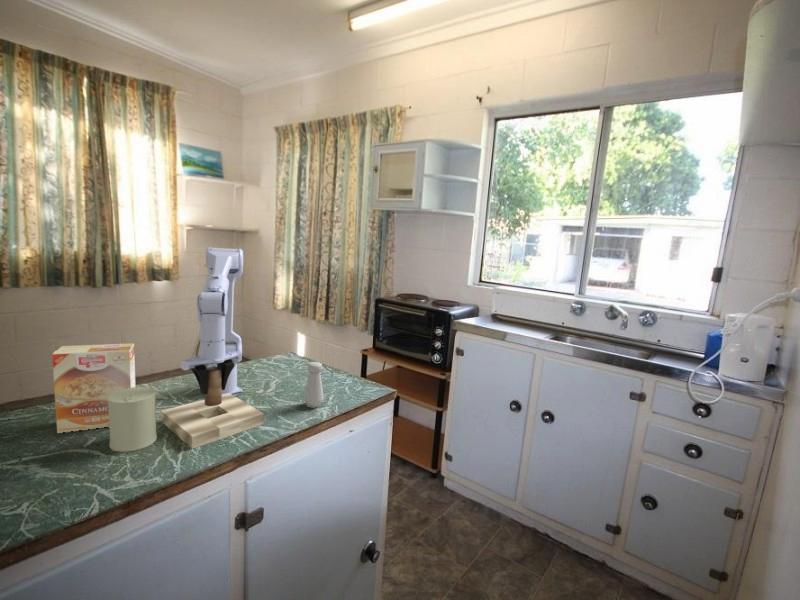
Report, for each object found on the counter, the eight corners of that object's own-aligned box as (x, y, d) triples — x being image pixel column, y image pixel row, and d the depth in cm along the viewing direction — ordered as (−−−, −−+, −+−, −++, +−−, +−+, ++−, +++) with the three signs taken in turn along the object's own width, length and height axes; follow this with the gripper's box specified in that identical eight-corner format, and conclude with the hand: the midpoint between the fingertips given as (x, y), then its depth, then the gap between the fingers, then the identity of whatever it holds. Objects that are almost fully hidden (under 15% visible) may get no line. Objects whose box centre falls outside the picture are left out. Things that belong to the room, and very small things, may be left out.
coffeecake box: (56, 434, 94) (50, 353, 91) (65, 420, 100) (61, 345, 97) (132, 425, 100) (129, 349, 97) (137, 413, 107) (134, 342, 104)
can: (105, 455, 87) (103, 402, 85) (112, 435, 95) (110, 387, 93) (155, 447, 91) (154, 397, 89) (158, 429, 99) (157, 382, 97)
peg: (201, 402, 103) (201, 368, 102) (217, 398, 106) (217, 365, 105) (208, 407, 100) (208, 373, 99) (224, 403, 103) (224, 369, 102)
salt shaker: (318, 410, 116) (320, 367, 114) (300, 407, 117) (301, 364, 115) (326, 402, 121) (328, 361, 119) (308, 400, 122) (310, 359, 120)
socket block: (161, 421, 103) (161, 410, 102) (229, 402, 117) (229, 392, 116) (192, 448, 92) (192, 436, 91) (263, 424, 105) (263, 413, 105)
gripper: (189, 347, 93) (190, 403, 95) (248, 338, 104) (247, 388, 106) (176, 341, 97) (177, 394, 99) (234, 332, 108) (234, 381, 110)
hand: (213, 391), depth 103 cm, fingers closed on peg, 4 cm apart
